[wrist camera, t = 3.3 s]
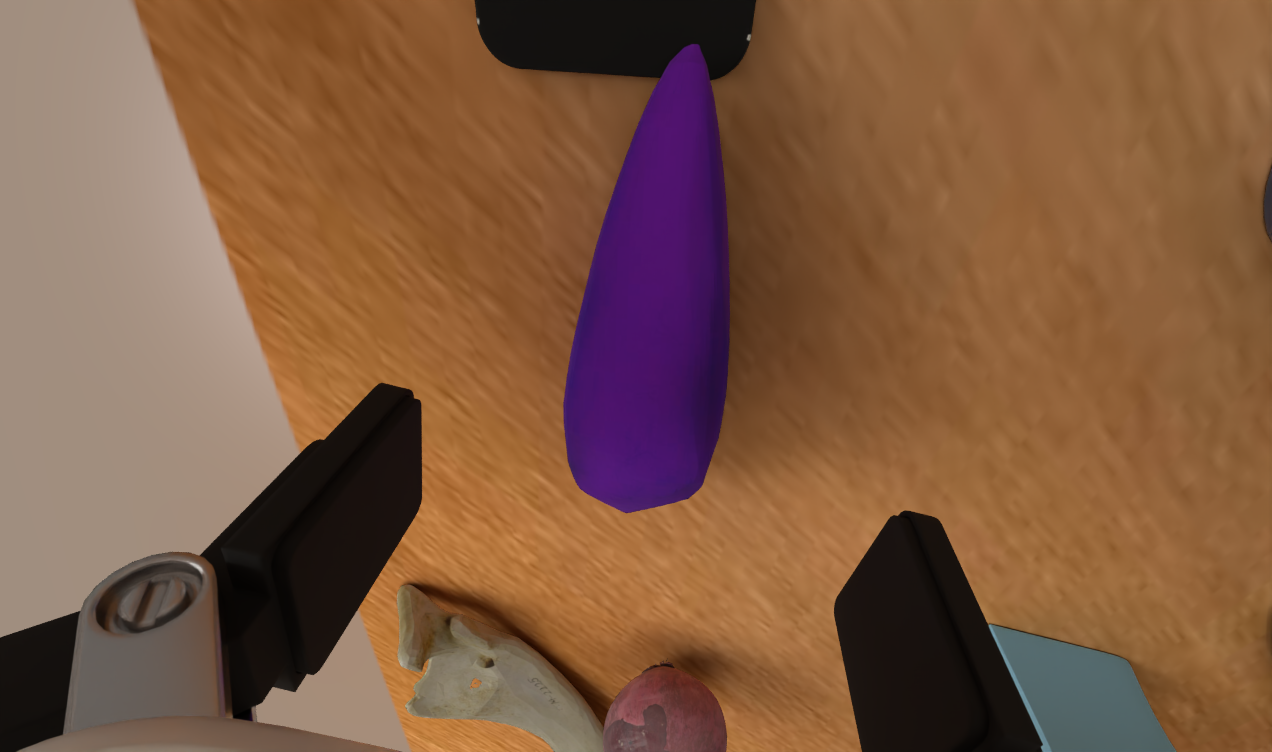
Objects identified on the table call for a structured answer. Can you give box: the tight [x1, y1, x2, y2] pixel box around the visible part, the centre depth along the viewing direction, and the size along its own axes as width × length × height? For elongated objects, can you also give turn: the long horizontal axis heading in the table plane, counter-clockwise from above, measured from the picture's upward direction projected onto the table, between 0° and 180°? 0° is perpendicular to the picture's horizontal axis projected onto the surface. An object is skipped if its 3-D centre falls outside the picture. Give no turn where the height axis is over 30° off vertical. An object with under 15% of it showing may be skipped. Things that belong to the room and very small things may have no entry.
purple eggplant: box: [564, 44, 730, 513], centre depth 17 cm, size 5×5×15 cm
